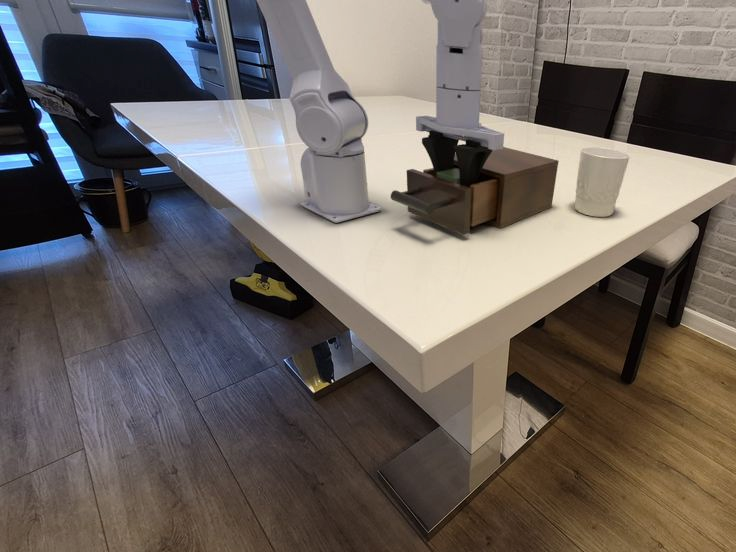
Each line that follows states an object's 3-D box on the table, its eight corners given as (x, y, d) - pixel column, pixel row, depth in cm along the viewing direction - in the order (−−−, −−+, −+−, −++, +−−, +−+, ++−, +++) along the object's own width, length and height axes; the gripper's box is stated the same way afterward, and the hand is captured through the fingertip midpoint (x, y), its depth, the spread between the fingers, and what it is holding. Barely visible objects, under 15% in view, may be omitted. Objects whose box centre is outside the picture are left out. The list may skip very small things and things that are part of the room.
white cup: (624, 213, 71) (638, 155, 66) (599, 222, 66) (612, 160, 61) (588, 200, 76) (598, 145, 71) (561, 207, 71) (571, 149, 66)
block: (436, 199, 59) (436, 172, 57) (455, 194, 62) (455, 167, 60) (456, 206, 57) (456, 178, 55) (474, 200, 60) (476, 174, 58)
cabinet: (500, 228, 60) (504, 174, 56) (440, 206, 67) (440, 156, 62) (551, 207, 70) (558, 160, 66) (495, 189, 77) (499, 145, 73)
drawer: (438, 244, 51) (438, 197, 48) (382, 219, 57) (379, 175, 54) (521, 212, 64) (525, 173, 61) (468, 194, 70) (469, 157, 67)
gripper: (522, 94, 51) (511, 198, 58) (441, 82, 59) (440, 175, 65) (486, 96, 46) (479, 209, 53) (402, 81, 54) (406, 182, 60)
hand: (455, 191), depth 59 cm, fingers closed on block, 4 cm apart
